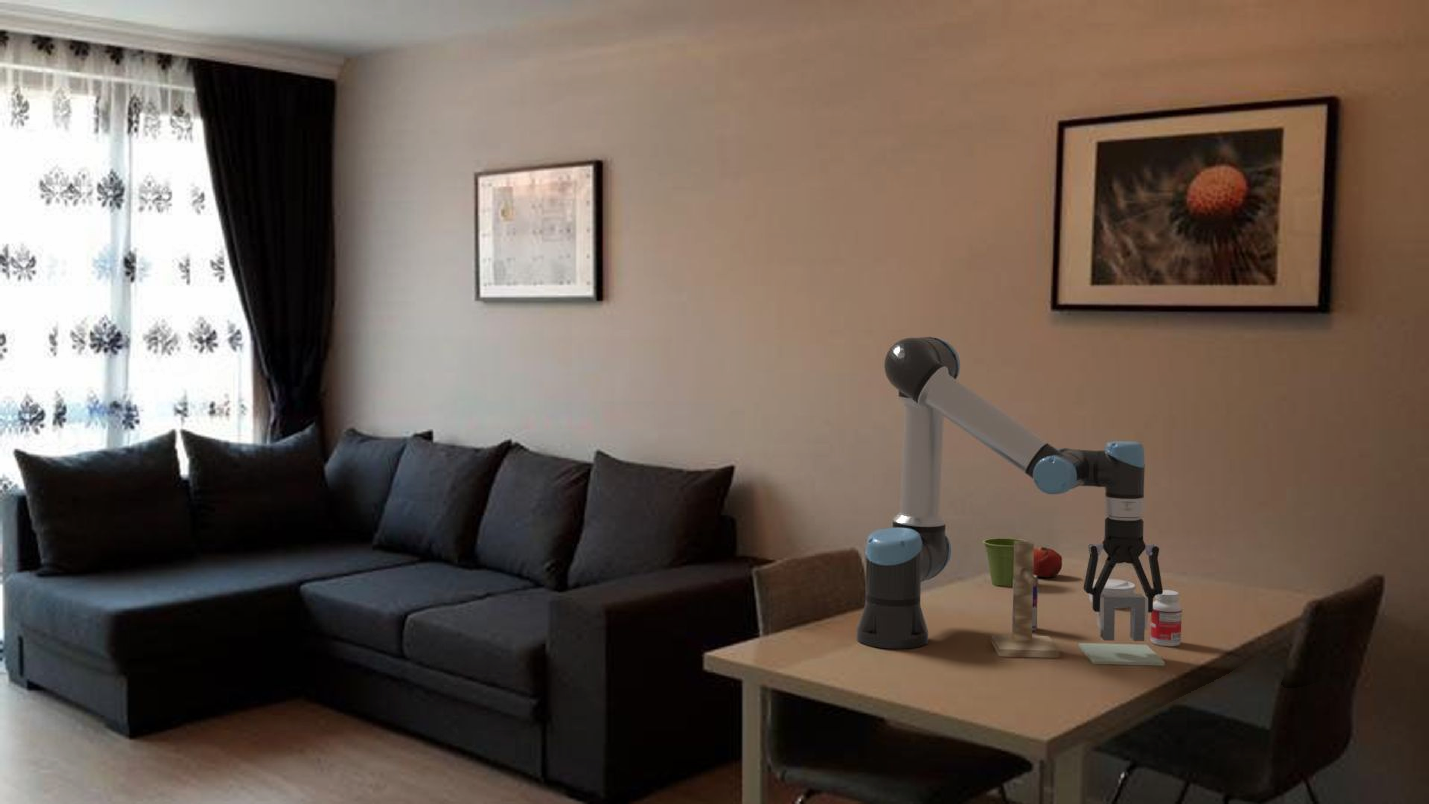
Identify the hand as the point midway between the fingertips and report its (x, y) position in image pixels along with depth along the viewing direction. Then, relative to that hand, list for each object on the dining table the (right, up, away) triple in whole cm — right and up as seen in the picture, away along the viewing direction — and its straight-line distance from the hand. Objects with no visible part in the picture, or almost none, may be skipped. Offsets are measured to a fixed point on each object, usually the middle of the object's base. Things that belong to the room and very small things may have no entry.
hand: (1122, 627), depth 261 cm
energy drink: (-15, -5, +23) cm, 27 cm away
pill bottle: (+13, -5, +11) cm, 17 cm away
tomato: (+5, -1, +80) cm, 80 cm away
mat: (0, -6, +1) cm, 6 cm away
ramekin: (+12, -3, +48) cm, 49 cm away
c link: (0, -2, 0) cm, 2 cm away
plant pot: (-8, -1, +70) cm, 71 cm away
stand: (-19, -6, +3) cm, 20 cm away
